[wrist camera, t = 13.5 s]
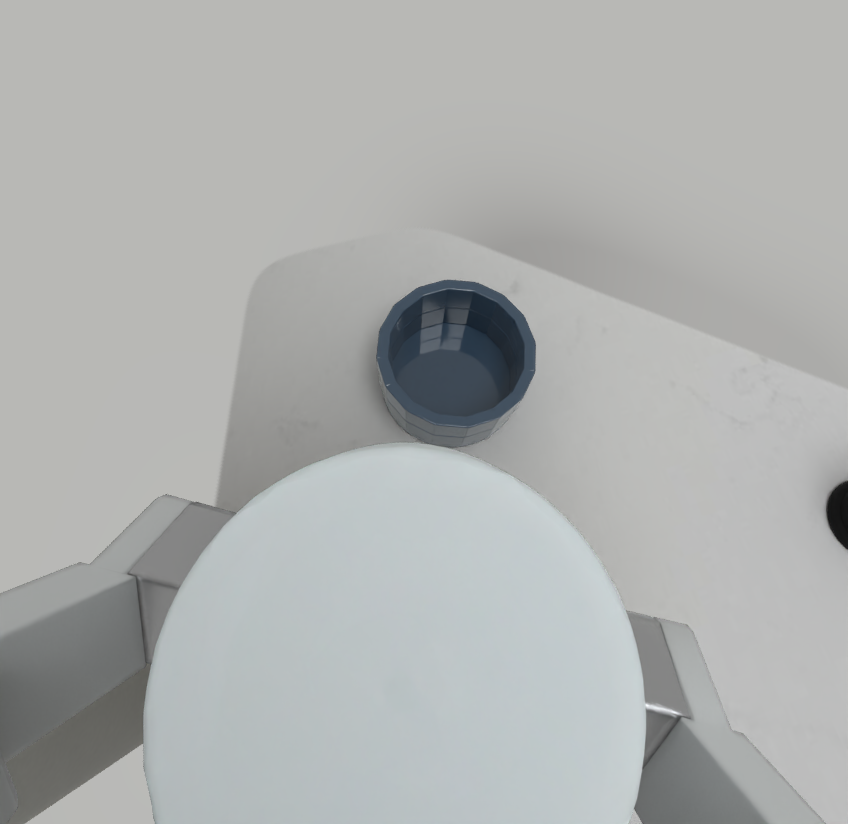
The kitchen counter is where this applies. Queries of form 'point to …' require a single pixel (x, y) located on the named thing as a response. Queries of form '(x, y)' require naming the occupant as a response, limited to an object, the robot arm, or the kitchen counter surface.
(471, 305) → the bowl
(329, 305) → the kitchen counter surface
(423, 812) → the pill bottle
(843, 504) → the chess piece
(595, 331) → the kitchen counter surface
